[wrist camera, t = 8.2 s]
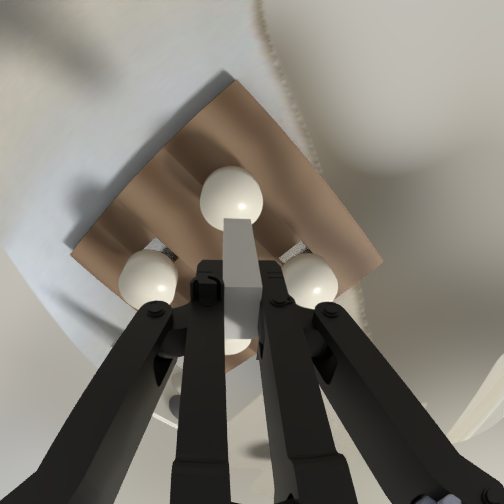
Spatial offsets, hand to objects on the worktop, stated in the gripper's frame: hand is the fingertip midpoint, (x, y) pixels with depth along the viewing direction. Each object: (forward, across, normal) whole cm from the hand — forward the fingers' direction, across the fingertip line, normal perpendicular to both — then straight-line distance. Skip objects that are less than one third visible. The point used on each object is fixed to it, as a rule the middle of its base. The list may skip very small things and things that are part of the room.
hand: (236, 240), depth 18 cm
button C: (+10, -7, -8) cm, 15 cm away
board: (+13, 0, -8) cm, 15 cm away
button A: (+12, 0, -1) cm, 12 cm away
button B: (+10, +7, -8) cm, 15 cm away
